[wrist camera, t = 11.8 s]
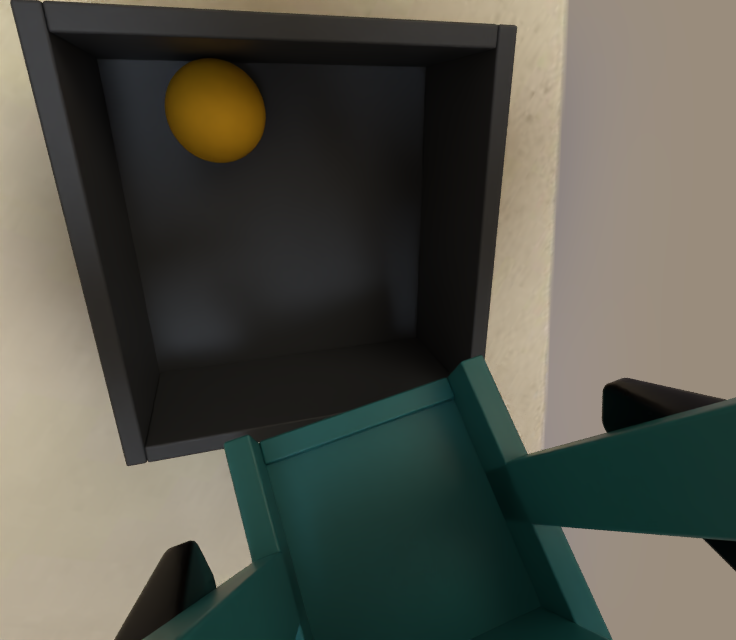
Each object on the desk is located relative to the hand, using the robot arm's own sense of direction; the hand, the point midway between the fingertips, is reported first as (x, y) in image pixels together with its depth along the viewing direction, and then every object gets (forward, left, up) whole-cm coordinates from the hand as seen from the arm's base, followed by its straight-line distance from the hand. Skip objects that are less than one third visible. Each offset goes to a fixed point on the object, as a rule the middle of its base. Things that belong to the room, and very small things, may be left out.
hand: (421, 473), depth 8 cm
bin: (0, -2, -13) cm, 13 cm away
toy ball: (+2, -6, -11) cm, 13 cm away
